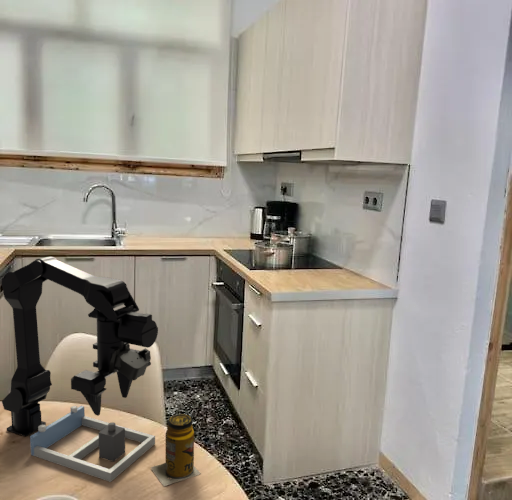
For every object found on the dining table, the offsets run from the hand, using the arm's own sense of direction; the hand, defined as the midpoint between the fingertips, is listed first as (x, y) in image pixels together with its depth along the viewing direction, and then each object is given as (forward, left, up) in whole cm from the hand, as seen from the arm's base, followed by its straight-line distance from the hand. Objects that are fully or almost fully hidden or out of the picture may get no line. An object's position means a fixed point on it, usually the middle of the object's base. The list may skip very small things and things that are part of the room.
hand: (111, 405), depth 112 cm
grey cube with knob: (0, 0, -12) cm, 12 cm away
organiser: (-5, 0, -12) cm, 13 cm away
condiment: (+16, +1, -12) cm, 20 cm away
